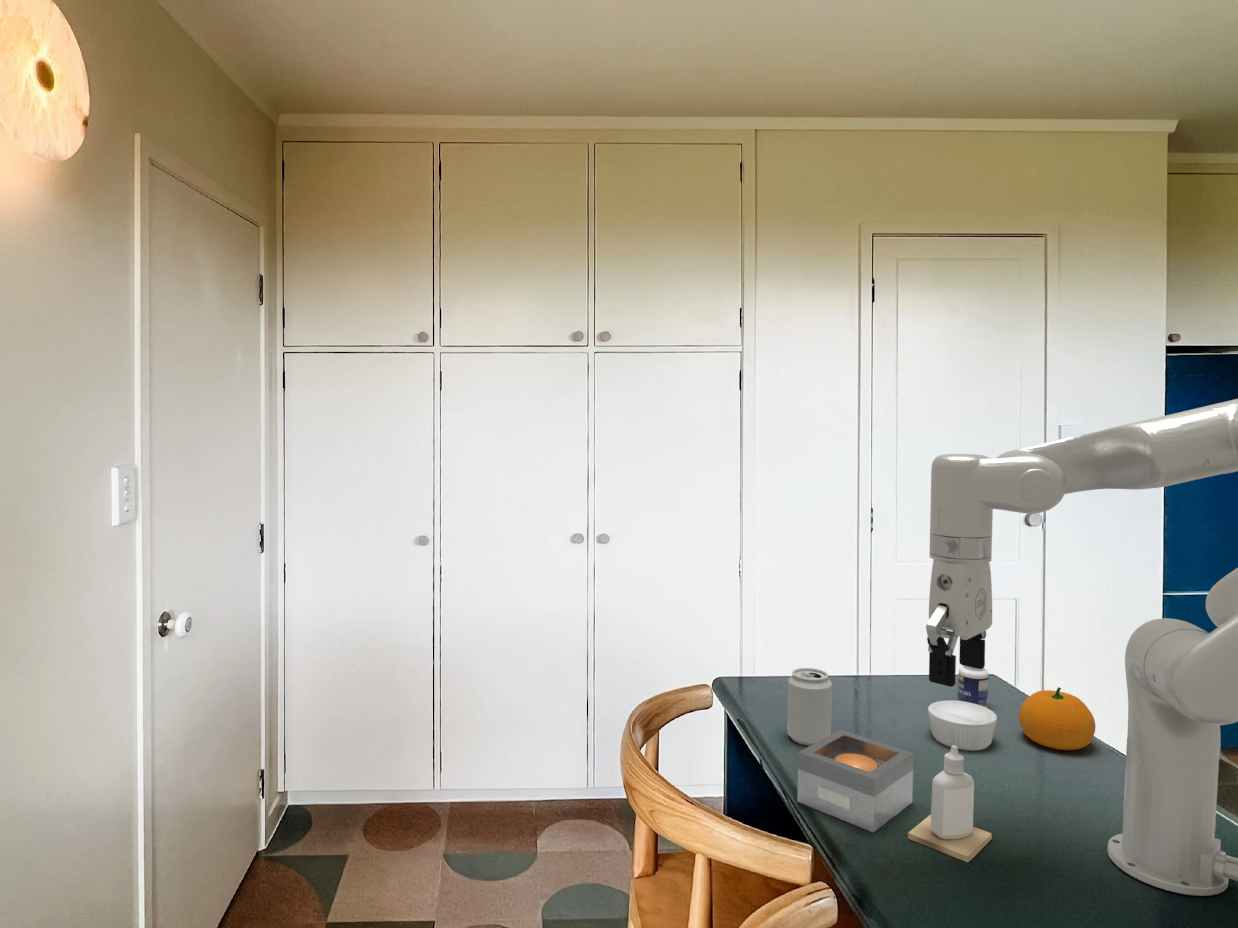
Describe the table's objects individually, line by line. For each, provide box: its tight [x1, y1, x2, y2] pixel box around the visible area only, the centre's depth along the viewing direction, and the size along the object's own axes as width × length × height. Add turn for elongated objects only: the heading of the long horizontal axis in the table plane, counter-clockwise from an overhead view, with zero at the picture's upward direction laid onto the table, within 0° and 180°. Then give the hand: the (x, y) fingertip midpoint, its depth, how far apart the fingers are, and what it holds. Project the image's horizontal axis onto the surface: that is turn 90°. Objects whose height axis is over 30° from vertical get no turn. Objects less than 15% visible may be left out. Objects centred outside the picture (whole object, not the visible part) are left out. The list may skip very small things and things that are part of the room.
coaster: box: [907, 813, 993, 863], centre depth 106 cm, size 8×8×1 cm
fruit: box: [1018, 686, 1096, 751], centre depth 138 cm, size 12×12×10 cm
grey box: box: [797, 729, 915, 833], centre depth 116 cm, size 12×12×8 cm
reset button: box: [835, 753, 877, 772], centre depth 116 cm, size 6×6×6 cm
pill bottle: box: [956, 665, 989, 708], centre depth 154 cm, size 5×5×10 cm
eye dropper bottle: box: [930, 745, 975, 839], centre depth 106 cm, size 4×6×12 cm
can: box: [786, 667, 833, 747], centre depth 138 cm, size 8×8×12 cm
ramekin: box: [927, 700, 998, 752], centre depth 138 cm, size 11×11×5 cm
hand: (957, 674), depth 105 cm, fingers open, 9 cm apart
